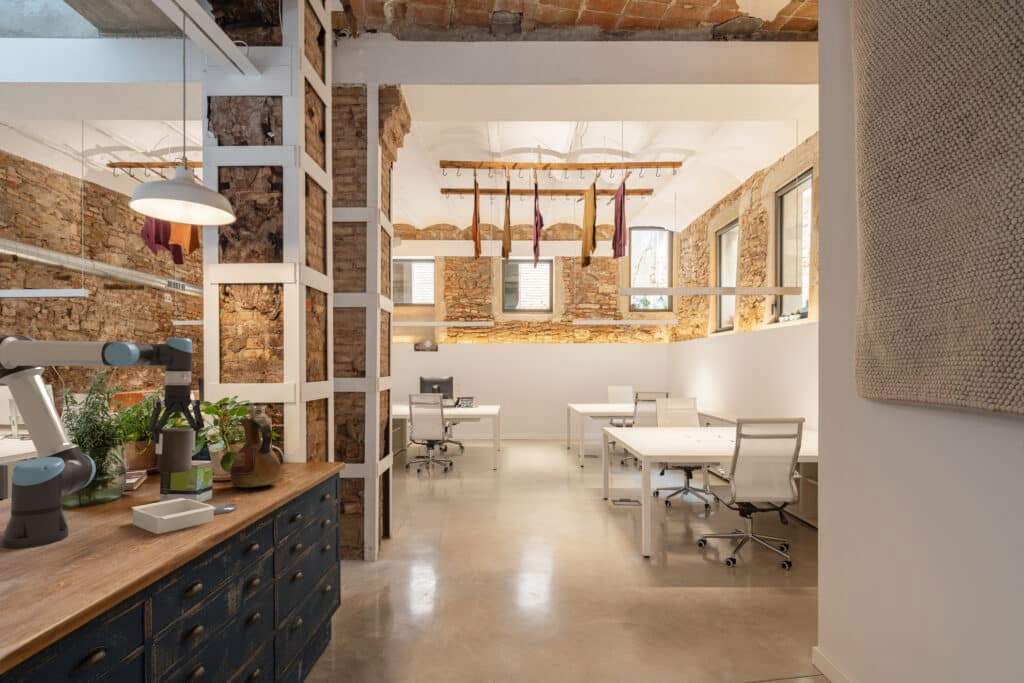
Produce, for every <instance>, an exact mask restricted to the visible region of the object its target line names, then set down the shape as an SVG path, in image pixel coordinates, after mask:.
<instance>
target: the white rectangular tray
mask: <svg viewBox="0 0 1024 683" xmlns="http://www.w3.org/2000/svg"><path fill="white" fill-rule="evenodd" d="M130 509H132V525H133V524H134V525H133V526H135V525H136V526H135V527H137V526H138V528H139V529H144V530H145V531H147V532H151V533H153V534H156V535H160V534H163V533H168V532H174V531H178V530H181V529H187V528H191V527H194V526H199V525H203V524H209V523H212V522H214V509H217V508H215V507H214V506H211V504H207V503H204V502H197V501H194V500H190V499H184V498H179V499H173V500H168V501H163V502H160V501H159V502H153V503H147V504H143V505H136V506H132V507H130Z"/></svg>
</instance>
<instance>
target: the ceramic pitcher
mask: <svg viewBox="0 0 1024 683" xmlns="http://www.w3.org/2000/svg"><path fill="white" fill-rule="evenodd" d="M238 422H239V423H240V424H241V425H242V427H243V429H244V430H243V431H244V434H245V436H244V437H245V442H244V445H243V446H242V447H241V448H240V449H239V450H238V451H237V453H236V454H235V456H234V458H233V460H232V463H231V468H230V474H229V475H230V482H231V485H232V486H234V487H238V488H257V487H265V486H268V485H271V486H272V485H275V484H277V482H278V481H279V480H280V479H281V475H282V467H281V463H280V462H281V461H280V460H279V457H278V456H277V453H276V452H275V451H274V450H273V449H272V448H271V444H272V436H273V434H272V428H271V425H270V423H269V421H267V420H266V418H265V416H261V417H259V416H258V417H257V416H256V417H251V418H242V419H239V420H238ZM261 436H262V437H261Z"/></svg>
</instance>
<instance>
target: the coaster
mask: <svg viewBox="0 0 1024 683" xmlns="http://www.w3.org/2000/svg"><path fill="white" fill-rule="evenodd" d="M210 505H211V506H214V507H215V508H217V509H214V515H215V516H216V515H223V514H228V513H231V512H235V511H236V510H237V509H238V505H237V504H236V503H232V502H220V503H219V502H218V503H212V504H210Z"/></svg>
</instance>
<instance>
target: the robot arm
mask: <svg viewBox="0 0 1024 683" xmlns="http://www.w3.org/2000/svg"><path fill="white" fill-rule="evenodd" d="M192 363H193V341H192V339H191V338H188V337H184V338H183V337H168V338H167V339H166V342H165V343H153V342H152V343H151V342H150V343H149V342H148V343H145V342H131V341H91V340H90V341H87V340H86V341H83V340H82V341H81V340H80V341H79V340H75V341H74V340H36V339H35V338H32V337H29V336H25V335H23V334H22V335H21V334H1V333H0V384H3V385H7V387H8V390H9V391H10V395H11V396H12V398H13V401H14V404H16V408H17V410H18V411H19V414H20V417H21V419H22V420H23V423H24V425H25V428H26V430H27V432H28V434H29V438H31V441H32V443H33V445H34V447H35V450H36V452H37V454H38V455H37V457H36V458H31V459H27V460H24V461H21V462H20V463H17V465H15V466H14V467H13V470H12V476H11V501H10V502H11V504H10V506H11V507H10V518H9V520H8V522H7V524H6V526H5V529H4V531H3V533H2V536H1V545H0V546H1V547H4V548H8V549H9V548H10V549H20V548H31V547H38V546H44V545H47V544H48V545H49V544H51V543H55V542H58V541H62V540H64V539H66V538H67V537H68V536H69V530H70V529H69V525H68V523H67V520H66V518H65V515H64V512H63V498H64V496H66V495H69V494H72V493H75V492H78V491H80V490H82V489H83V488H85V487H86V486H88V485H89V484H90V483H91V482H92V480H93V479H94V477H95V474H96V472H97V471H96V469H97V468H96V464H95V462H94V459H93V458H92V457H91V456H89V455H87V454H84V453H83V452H82V450H81V447H80V446H79V444H76V443H72V441H71V440H70V437H69V435H68V433H67V431H66V428H65V426H64V423H63V421H62V420H61V418H60V415H59V412H58V410H57V408H56V406H55V404H54V402H53V399H52V398H51V395H50V393H49V390H48V388H47V386H46V382H45V381H44V379H43V377H42V374H43V373H44V371H45V367H44V366H47V367H49V366H51V367H53V366H54V367H57V366H59V367H62V366H63V367H66V366H67V367H71V366H72V367H77V366H78V367H118V368H119V367H120V368H121V367H123V368H125V367H165V373H164V374H165V375H164V383H165V386H164V399H163V400H161V401H156V400H155V401H153V410H152V412H151V416H150V419H149V422H148V425H147V427H146V431H147V432H149V433H152V434H153V436H152V437H153V438H152V443H153V444H155V454H157V455H158V454H162V441H163V434H162V433H160V432H161V430H162V429H164V427H165V425H166V423H167V422H168V420H169V418H170V417H171V416H172V414H173V413H174V414H175V413H182V414H183V416H184V417H185V419H186V421H187V423H188V425H189V426H190V427H189V428H193V444H192V451H195V450H196V440H198V438H199V437H198V436H199V431H200V430H201V429H203V428H205V424H204V420H203V415H202V414H203V413H202V411H201V408H200V406H201V400H200V399H191V394H192V393H191V392H192V386H191V384H190V383H192V366H193V364H192ZM190 405H191V407H192V412H193V414H194V417H193V415H192V413H191V410H190V407H189V406H190ZM163 406H164V407H165V409H164V411H163V413H162V415H161V411H162V408H163ZM160 415H161V416H160ZM159 417H160V418H159Z"/></svg>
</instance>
